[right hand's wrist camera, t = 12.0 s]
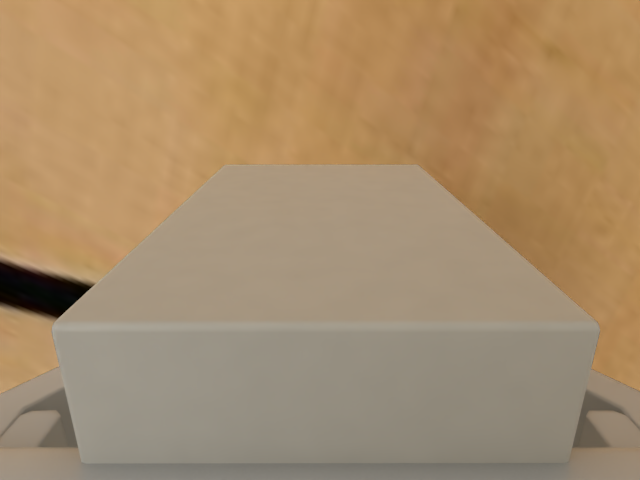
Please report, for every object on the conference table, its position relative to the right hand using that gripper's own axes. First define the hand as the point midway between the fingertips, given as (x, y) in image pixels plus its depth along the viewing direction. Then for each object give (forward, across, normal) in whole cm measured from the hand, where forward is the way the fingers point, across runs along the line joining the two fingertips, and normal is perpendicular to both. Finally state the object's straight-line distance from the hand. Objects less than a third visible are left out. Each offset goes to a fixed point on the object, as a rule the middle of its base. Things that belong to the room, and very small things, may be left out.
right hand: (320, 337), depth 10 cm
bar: (+3, 0, +10) cm, 11 cm away
